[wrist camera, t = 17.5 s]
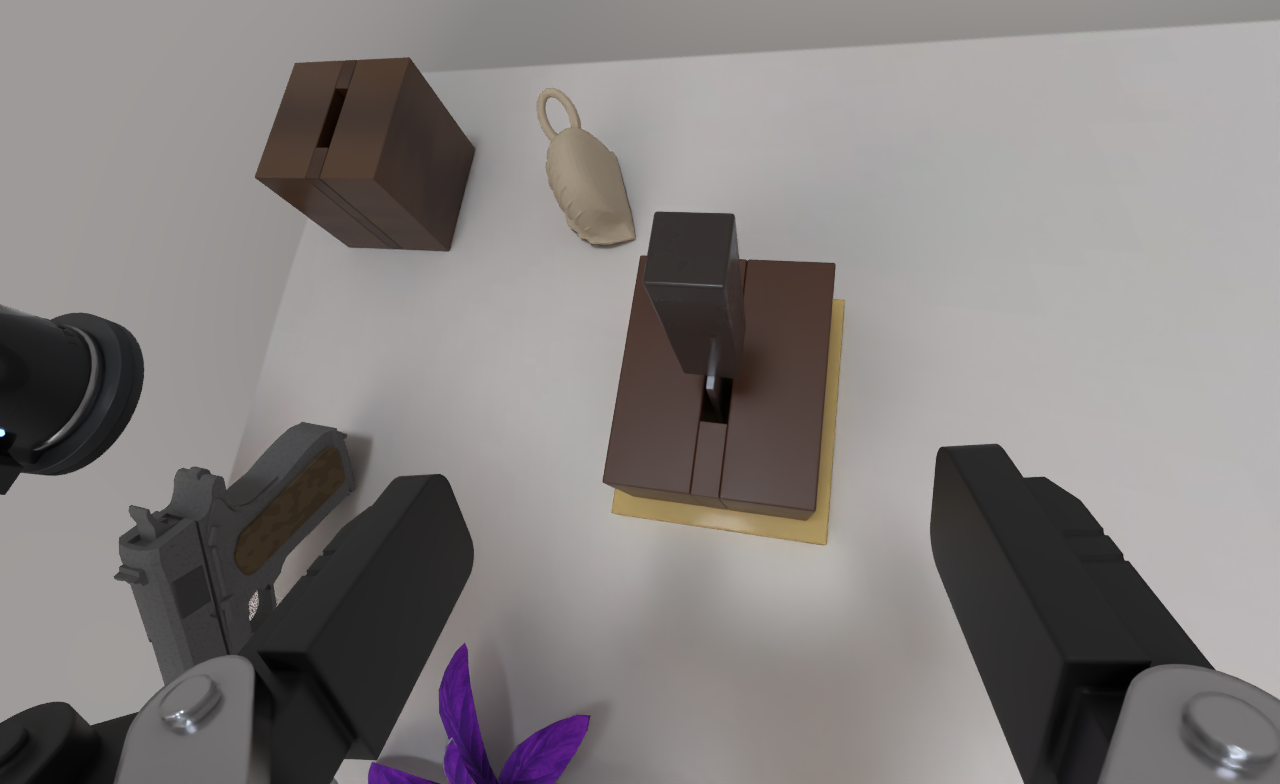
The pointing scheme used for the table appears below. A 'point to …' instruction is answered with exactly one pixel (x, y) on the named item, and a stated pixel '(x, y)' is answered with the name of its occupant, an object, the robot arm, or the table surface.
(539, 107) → the decorative ornament
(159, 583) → the handgun
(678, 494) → the cake
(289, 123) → the knife block
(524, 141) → the table surface
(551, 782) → the decorative flower
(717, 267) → the knife
